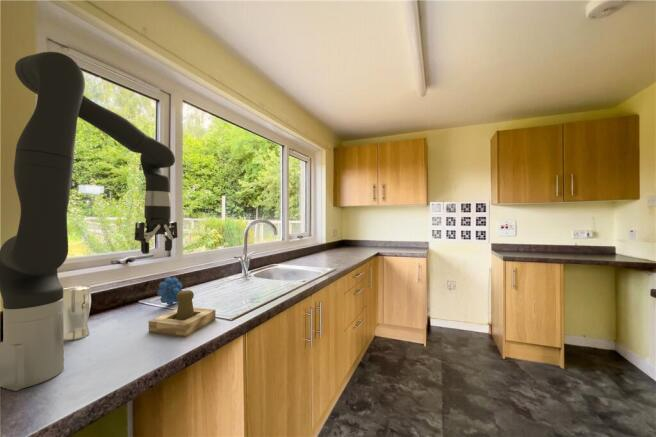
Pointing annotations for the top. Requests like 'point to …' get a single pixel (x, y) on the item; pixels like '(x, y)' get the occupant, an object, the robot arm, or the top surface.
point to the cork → (185, 305)
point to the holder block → (181, 323)
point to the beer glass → (76, 312)
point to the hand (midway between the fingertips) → (157, 252)
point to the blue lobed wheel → (169, 290)
